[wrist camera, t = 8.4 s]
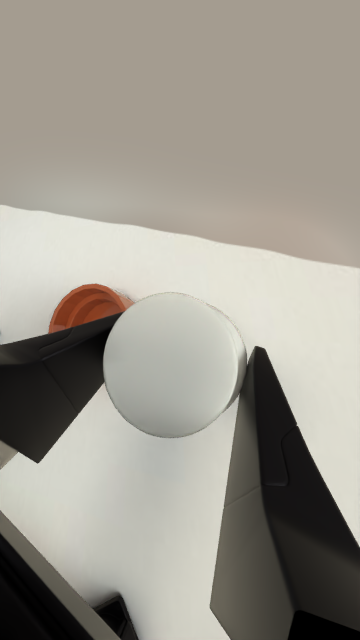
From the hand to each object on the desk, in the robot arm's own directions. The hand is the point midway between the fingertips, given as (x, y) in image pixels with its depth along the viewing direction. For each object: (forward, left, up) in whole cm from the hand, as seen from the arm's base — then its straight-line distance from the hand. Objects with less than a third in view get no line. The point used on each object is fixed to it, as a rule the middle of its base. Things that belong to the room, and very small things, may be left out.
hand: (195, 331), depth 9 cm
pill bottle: (-1, -1, -7) cm, 7 cm away
